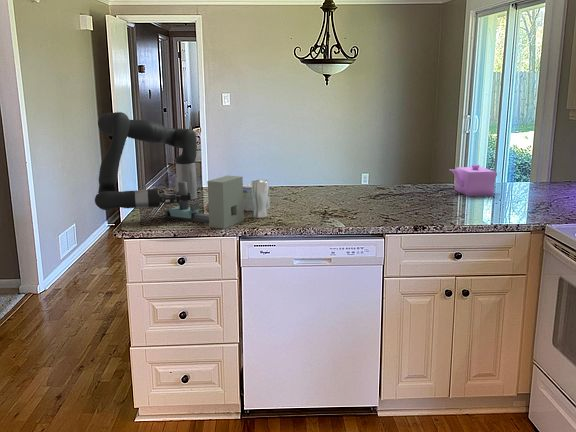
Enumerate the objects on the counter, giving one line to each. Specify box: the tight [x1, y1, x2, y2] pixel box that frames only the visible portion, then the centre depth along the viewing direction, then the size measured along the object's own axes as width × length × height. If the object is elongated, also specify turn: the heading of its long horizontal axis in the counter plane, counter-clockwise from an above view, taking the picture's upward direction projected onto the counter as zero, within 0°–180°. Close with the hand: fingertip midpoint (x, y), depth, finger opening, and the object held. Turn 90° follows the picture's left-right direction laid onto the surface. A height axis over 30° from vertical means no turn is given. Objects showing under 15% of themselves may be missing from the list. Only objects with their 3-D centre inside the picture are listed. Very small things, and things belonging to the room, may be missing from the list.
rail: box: [164, 207, 209, 224], centre depth 228 cm, size 25×5×3 cm, turn 62°
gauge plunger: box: [205, 203, 209, 214], centre depth 221 cm, size 10×4×4 cm, turn 62°
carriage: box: [168, 182, 200, 219], centre depth 228 cm, size 11×7×14 cm, turn 62°
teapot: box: [448, 164, 498, 197], centre depth 274 cm, size 15×25×14 cm, turn 97°
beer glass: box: [251, 179, 269, 219], centre depth 230 cm, size 7×7×15 cm
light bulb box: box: [243, 183, 271, 212], centre depth 243 cm, size 11×7×11 cm, turn 71°
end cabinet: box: [207, 174, 245, 230], centre depth 219 cm, size 8×14×18 cm, turn 152°
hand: (190, 196), depth 229 cm, fingers open, 4 cm apart
